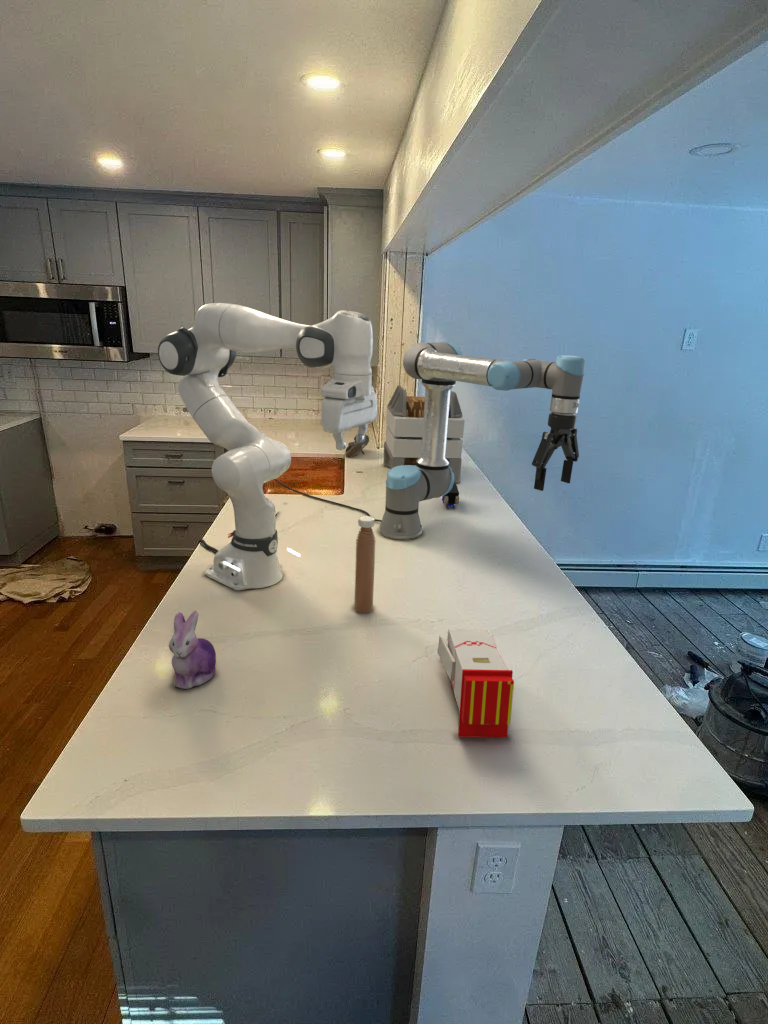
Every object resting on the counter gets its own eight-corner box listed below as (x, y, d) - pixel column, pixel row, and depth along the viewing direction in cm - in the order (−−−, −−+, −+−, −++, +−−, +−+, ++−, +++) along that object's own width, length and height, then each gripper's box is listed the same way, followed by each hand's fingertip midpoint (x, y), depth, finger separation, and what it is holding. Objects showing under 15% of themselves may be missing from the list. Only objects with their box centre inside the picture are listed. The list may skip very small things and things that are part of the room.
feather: (286, 506, 225) (288, 502, 225) (268, 529, 199) (271, 525, 198) (282, 503, 225) (284, 499, 225) (264, 526, 199) (267, 522, 198)
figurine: (175, 696, 113) (169, 631, 108) (168, 668, 121) (161, 606, 116) (223, 684, 117) (219, 621, 112) (213, 658, 126) (208, 598, 120)
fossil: (345, 440, 315) (366, 425, 310) (356, 453, 318) (377, 439, 313) (338, 454, 296) (361, 438, 291) (350, 468, 298) (372, 452, 293)
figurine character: (459, 513, 226) (454, 497, 240) (461, 496, 223) (456, 481, 236) (442, 513, 226) (439, 497, 239) (444, 496, 222) (440, 480, 236)
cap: (362, 528, 139) (362, 522, 138) (355, 523, 142) (355, 517, 142) (377, 526, 141) (377, 520, 140) (369, 521, 144) (370, 515, 144)
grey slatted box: (382, 463, 289) (386, 382, 275) (445, 464, 293) (451, 384, 279) (390, 482, 257) (394, 392, 243) (460, 483, 261) (468, 394, 247)
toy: (488, 613, 130) (523, 677, 101) (484, 667, 133) (517, 744, 104) (435, 612, 130) (455, 676, 101) (432, 666, 133) (451, 743, 103)
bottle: (359, 614, 146) (362, 524, 138) (351, 605, 150) (353, 518, 142) (375, 610, 149) (379, 522, 140) (367, 602, 153) (370, 515, 144)
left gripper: (361, 380, 139) (360, 436, 144) (316, 389, 122) (316, 452, 127) (384, 383, 137) (382, 439, 142) (342, 392, 120) (340, 456, 124)
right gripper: (548, 419, 148) (537, 496, 155) (598, 411, 163) (586, 482, 171) (525, 414, 153) (515, 489, 160) (575, 407, 169) (564, 476, 176)
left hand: (350, 445), depth 134 cm, fingers open, 8 cm apart
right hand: (552, 485), depth 166 cm, fingers open, 13 cm apart
